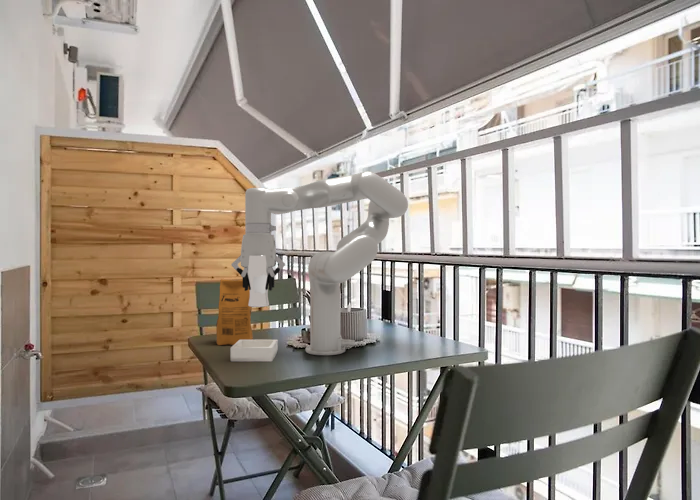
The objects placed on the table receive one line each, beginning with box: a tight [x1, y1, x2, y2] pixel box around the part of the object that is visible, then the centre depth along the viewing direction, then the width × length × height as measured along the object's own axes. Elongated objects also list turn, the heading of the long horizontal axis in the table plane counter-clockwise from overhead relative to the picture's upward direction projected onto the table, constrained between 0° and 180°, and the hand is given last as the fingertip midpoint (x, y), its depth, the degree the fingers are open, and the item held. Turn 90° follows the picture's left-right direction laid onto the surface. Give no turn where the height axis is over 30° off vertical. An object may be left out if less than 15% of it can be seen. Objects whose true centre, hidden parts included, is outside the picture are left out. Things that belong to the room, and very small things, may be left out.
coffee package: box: [215, 278, 254, 346], centre depth 170 cm, size 10×12×22 cm
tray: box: [230, 339, 279, 362], centre depth 149 cm, size 12×12×4 cm
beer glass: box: [247, 255, 270, 308], centre depth 146 cm, size 7×7×15 cm
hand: (258, 289), depth 146 cm, fingers closed on beer glass, 6 cm apart
